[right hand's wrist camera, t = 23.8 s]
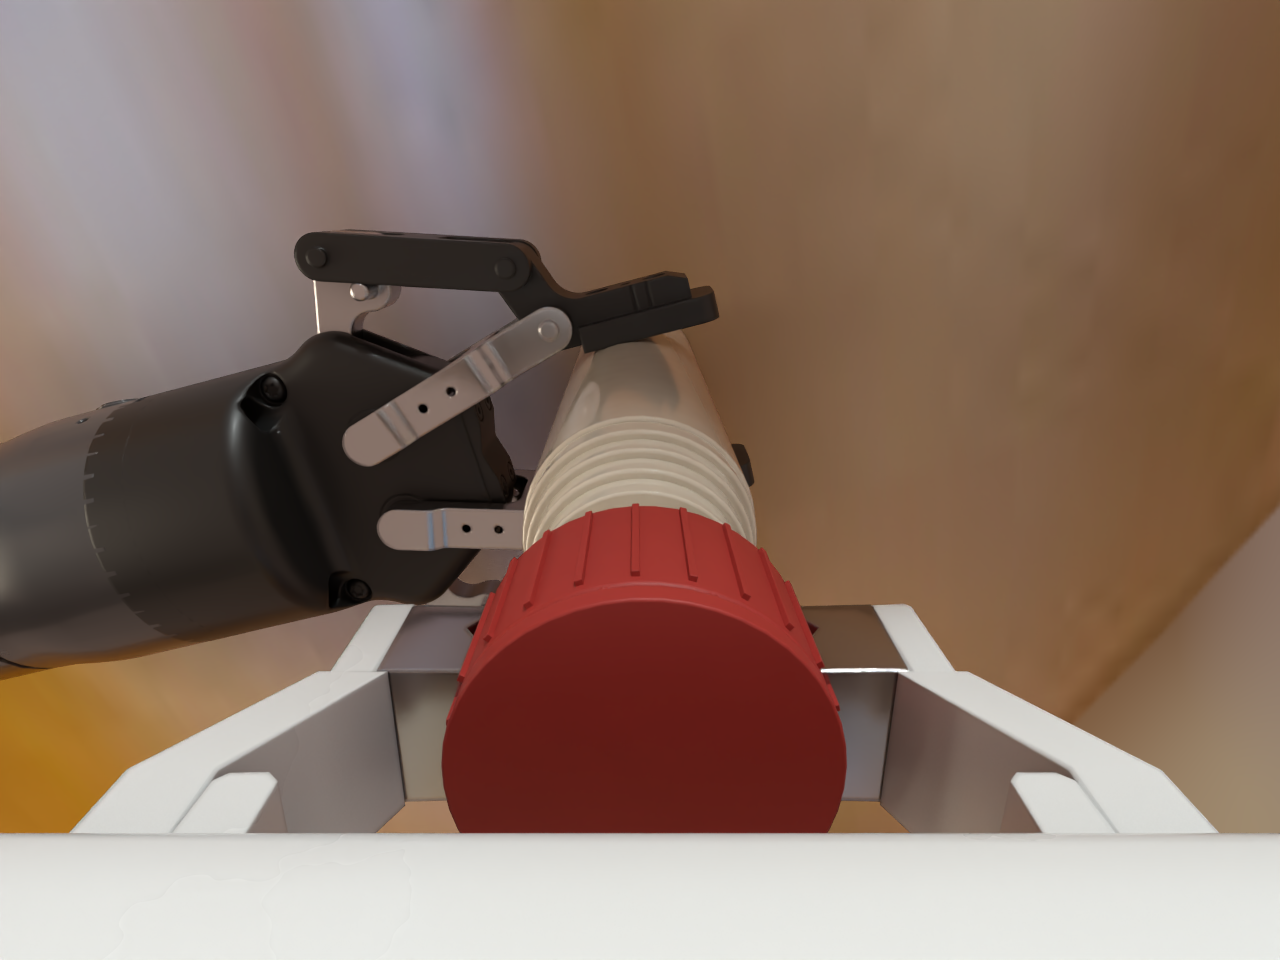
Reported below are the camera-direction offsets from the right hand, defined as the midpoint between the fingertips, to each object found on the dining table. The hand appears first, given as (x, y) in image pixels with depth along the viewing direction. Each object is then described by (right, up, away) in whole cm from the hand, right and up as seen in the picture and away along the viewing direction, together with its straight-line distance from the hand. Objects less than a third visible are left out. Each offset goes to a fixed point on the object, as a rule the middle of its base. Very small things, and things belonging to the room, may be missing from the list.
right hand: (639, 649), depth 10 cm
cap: (0, -1, -2) cm, 2 cm away
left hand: (+2, +5, +11) cm, 13 cm away
